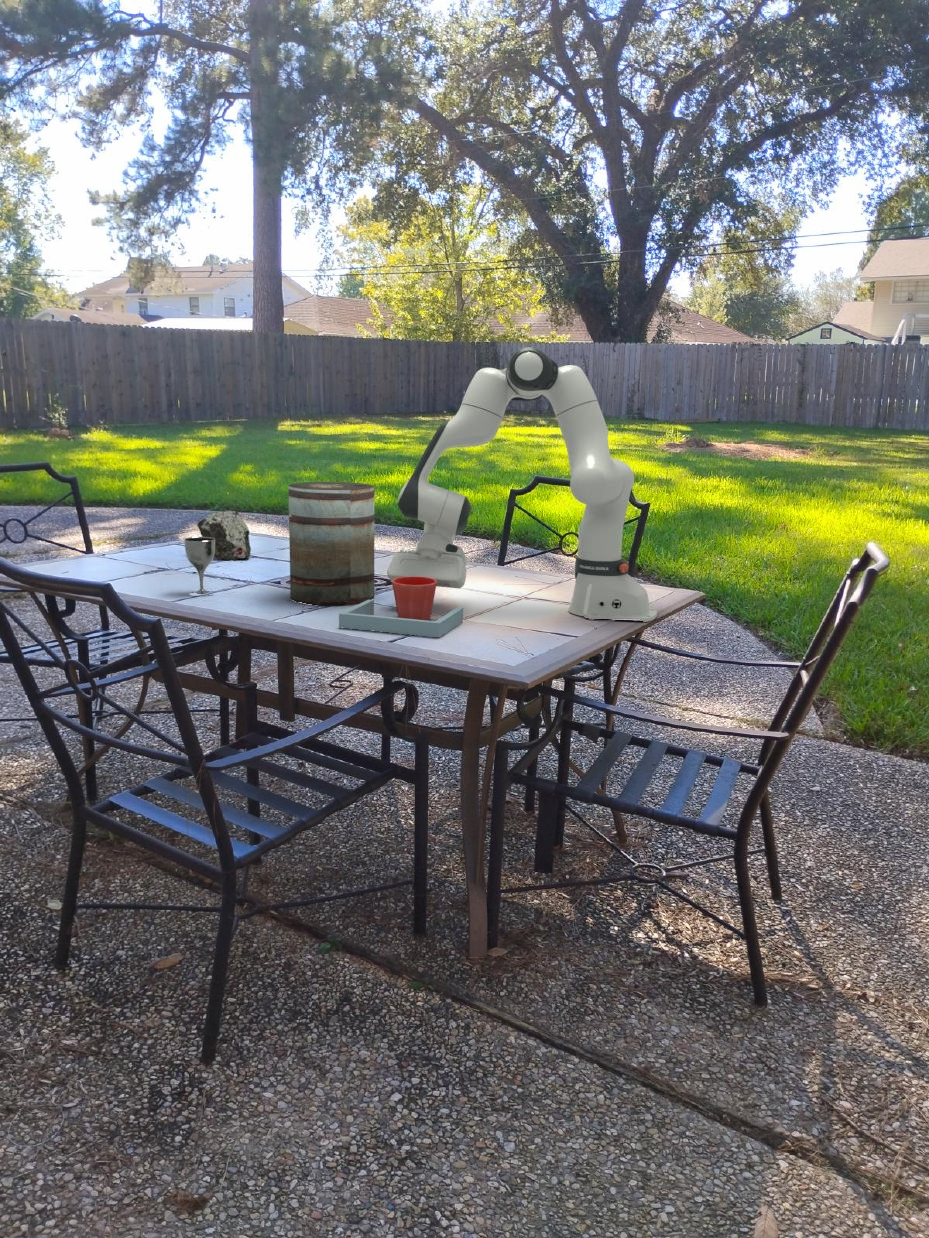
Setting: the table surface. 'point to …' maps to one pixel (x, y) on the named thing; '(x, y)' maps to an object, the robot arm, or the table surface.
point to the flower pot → (414, 597)
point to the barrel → (331, 543)
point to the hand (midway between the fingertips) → (419, 597)
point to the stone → (227, 534)
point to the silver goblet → (200, 555)
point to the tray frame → (397, 621)
